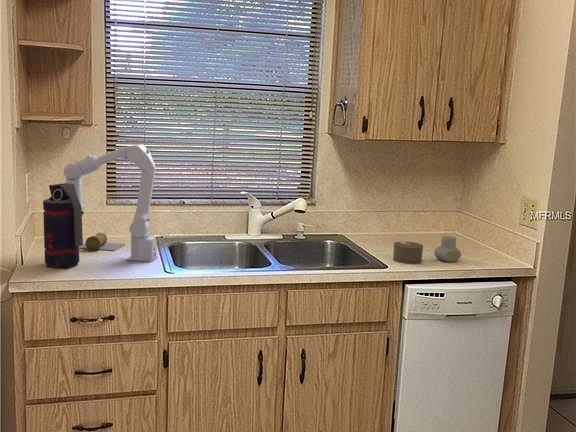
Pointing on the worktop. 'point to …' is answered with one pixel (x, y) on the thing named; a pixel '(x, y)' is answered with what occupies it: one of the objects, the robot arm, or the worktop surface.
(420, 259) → the can
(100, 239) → the cork
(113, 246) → the mat
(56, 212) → the grenade
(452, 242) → the air freshener
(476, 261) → the worktop surface
